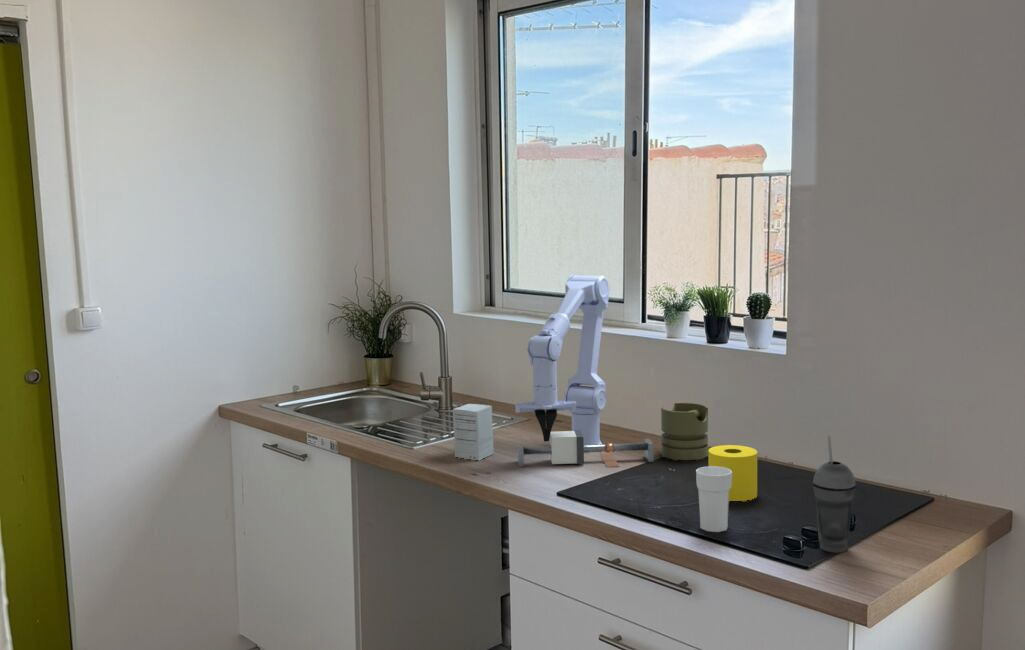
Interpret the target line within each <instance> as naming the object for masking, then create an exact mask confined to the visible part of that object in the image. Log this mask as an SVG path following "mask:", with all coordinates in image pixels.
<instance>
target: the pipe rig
mask: <svg viewBox="0 0 1025 650" xmlns="http://www.w3.org/2000/svg"><path fill="white" fill-rule="evenodd" d="M635 451H639V452H640V451H644V458H645V460H646V461H647V462H648V463H653V462H654V442H653V441H652V440H651V439H650V438H644V442H636V443H635V442H633V443H614V442H613V443H611V442H608V443H604V444H603V443H602V444H600V445H584V454H585V453H586V454H587V453H603V454H600V456H601V459H602V461H603V463H604V465H605V467H606V468H617V467H619V468H620V465H619V462H618V461H617V459H616V458H615V456H614V453H615V452H635ZM605 453H607V454H605ZM550 454H551V446H550V445H548V446H524V444H523V442H520V443H519V442H518V443H517V462H518V463H517V464H518V467H519V468H523V467H525V459H524V457H525V455H526V456H527V455H550Z"/></svg>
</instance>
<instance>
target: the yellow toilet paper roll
mask: <svg viewBox="0 0 1025 650" xmlns="http://www.w3.org/2000/svg"><path fill="white" fill-rule="evenodd" d="M708 466H717V467H724V468H728V469H730V470H731V471H732V485H731V488H730V489H729V502H730V501H742V502H748V501H747V500H749V501H752V499H753V500H754V498H755V499H757V497H758V450H756V449H755V448H753V447H750V446H745V445H739V444H738V445H736V444H735V445H734V444H724V445H716V446H712V447H710V448H708Z"/></svg>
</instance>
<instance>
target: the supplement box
mask: <svg viewBox="0 0 1025 650" xmlns="http://www.w3.org/2000/svg"><path fill="white" fill-rule="evenodd" d="M452 415H453V417H452V419H453V438H454V439H453V440H454V441H453V443H454V445H453V447H454V457H458V458H457V459H460V458H464V459H463V460H467V459H471V460H470V461H475V460H478V461H477V462H479V461H481V460H483V458H484V459H485V458H488V457H490V456H493V455H494V452H495V451H494V432H493V431H494V430H493V429H494V427H493V426H494V425H493V406H492V405H488V404H477V403H476V404H475V403H467V404H464V405H461V406H458V407H454V408H452Z"/></svg>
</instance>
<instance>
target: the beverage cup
mask: <svg viewBox="0 0 1025 650" xmlns="http://www.w3.org/2000/svg"><path fill="white" fill-rule="evenodd" d="M827 445H828V455H829V459H828V460H829V461H826V462H824V463H823V464H821V465H820V466H819V467H818V468H817V470H816V471H815V473H814V475H813V481H812V486H813V493H814V496H815V506H816V518H817V519H816V520H817V532H818V540H819V548H820V549H821V550H822V551H825V552H829V553H843V552H844V553H845V552H846V551H847V549H848V543H849V538H850V537H849V536H850V527H851V518H852V507H853V501H854V500H853V499H854V497H855V493H856V492H855V491H856V488H857V484H856V479H855V476H854V473H853V472H852V469H850V468H849V467H848V466H847V465H846V464H844V463H842V462H840V461H835V460H833V450H832V440H831V435H828V436H827Z"/></svg>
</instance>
